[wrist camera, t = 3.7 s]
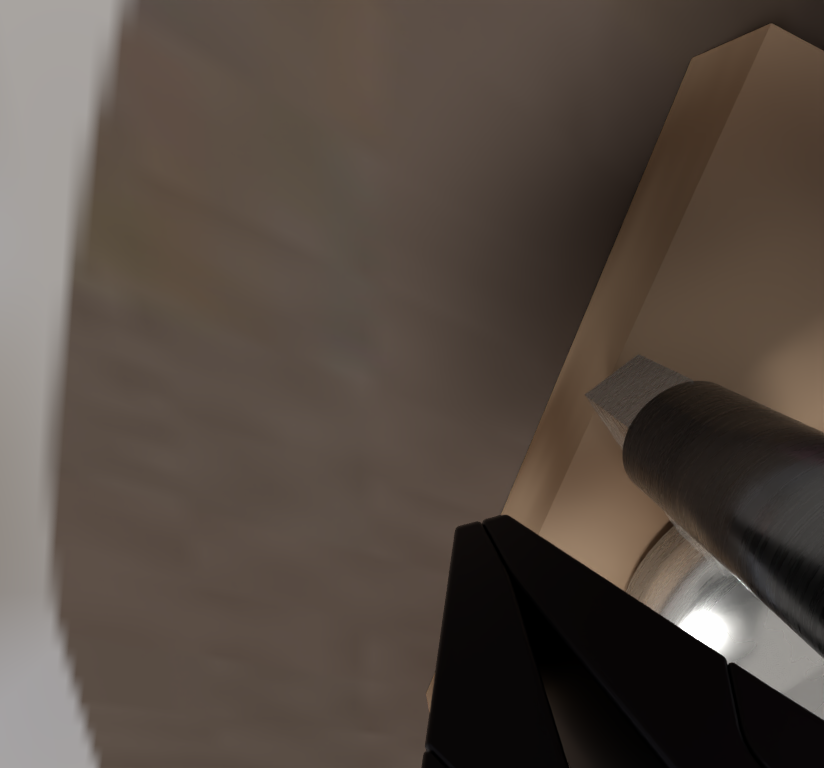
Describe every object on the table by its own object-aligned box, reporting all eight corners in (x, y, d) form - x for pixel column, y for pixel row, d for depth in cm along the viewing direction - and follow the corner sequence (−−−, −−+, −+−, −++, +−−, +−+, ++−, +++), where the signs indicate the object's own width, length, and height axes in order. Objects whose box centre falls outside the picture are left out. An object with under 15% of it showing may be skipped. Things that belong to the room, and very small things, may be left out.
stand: (697, 711, 19) (744, 777, 17) (426, 693, 16) (439, 771, 14) (1032, 221, 13) (1177, 224, 11) (691, 58, 10) (791, 14, 8)
